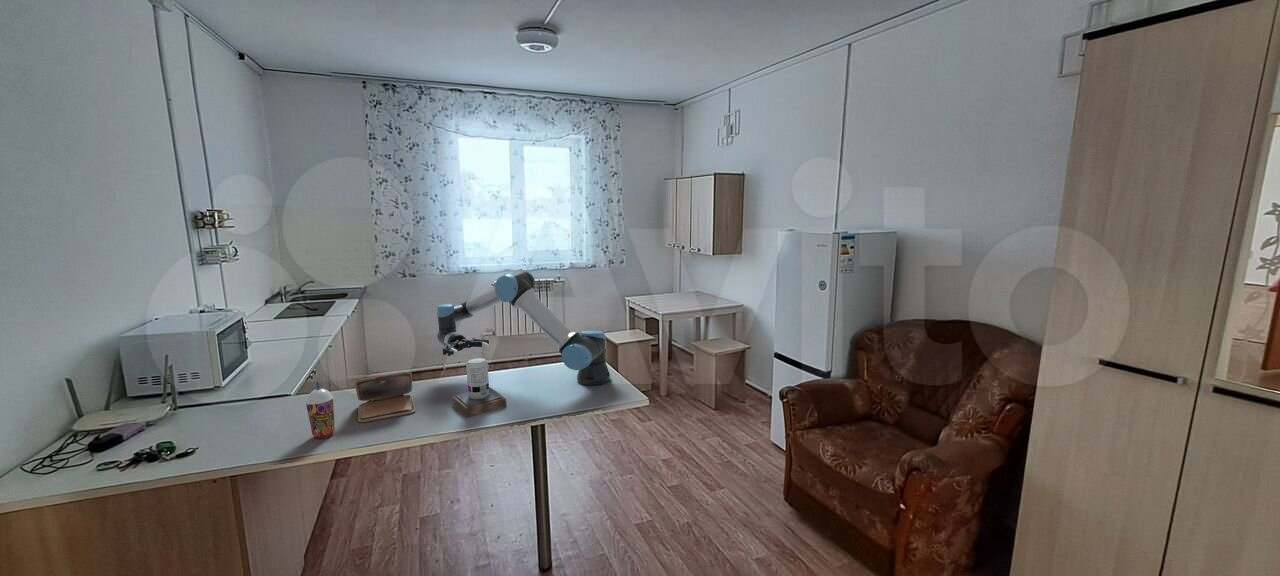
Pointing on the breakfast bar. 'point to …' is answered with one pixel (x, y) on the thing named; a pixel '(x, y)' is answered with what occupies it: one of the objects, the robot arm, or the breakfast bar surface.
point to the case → (385, 396)
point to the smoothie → (321, 412)
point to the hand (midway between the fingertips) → (473, 350)
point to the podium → (479, 403)
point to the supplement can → (477, 378)
